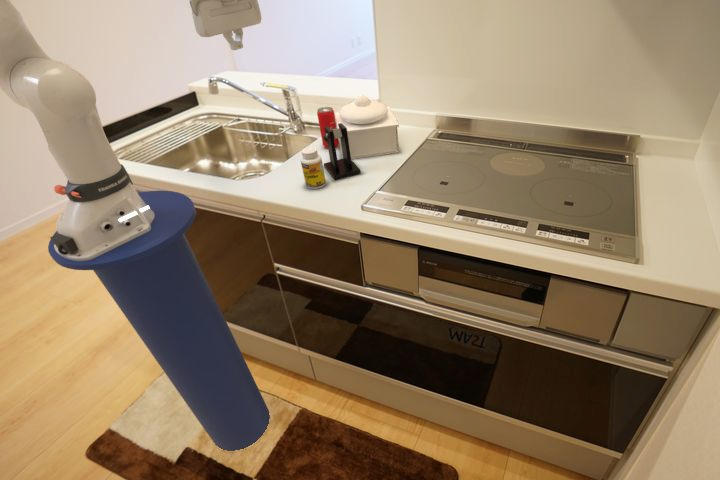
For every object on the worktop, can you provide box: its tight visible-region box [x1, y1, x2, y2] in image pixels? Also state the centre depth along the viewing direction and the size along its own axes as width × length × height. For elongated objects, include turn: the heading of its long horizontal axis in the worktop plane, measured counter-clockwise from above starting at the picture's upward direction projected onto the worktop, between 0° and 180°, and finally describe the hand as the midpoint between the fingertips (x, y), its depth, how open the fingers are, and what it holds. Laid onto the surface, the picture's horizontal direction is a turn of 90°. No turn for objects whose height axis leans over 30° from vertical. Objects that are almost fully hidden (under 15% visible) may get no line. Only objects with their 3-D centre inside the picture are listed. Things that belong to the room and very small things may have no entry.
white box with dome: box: [334, 94, 400, 160], centre depth 128 cm, size 18×18×16 cm
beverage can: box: [316, 106, 340, 150], centre depth 131 cm, size 5×5×12 cm
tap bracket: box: [323, 123, 362, 181], centre depth 117 cm, size 10×8×13 cm
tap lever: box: [324, 128, 342, 143], centre depth 118 cm, size 13×3×3 cm, turn 26°
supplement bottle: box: [300, 146, 327, 190], centre depth 111 cm, size 6×6×10 cm
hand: (237, 49), depth 112 cm, fingers closed
